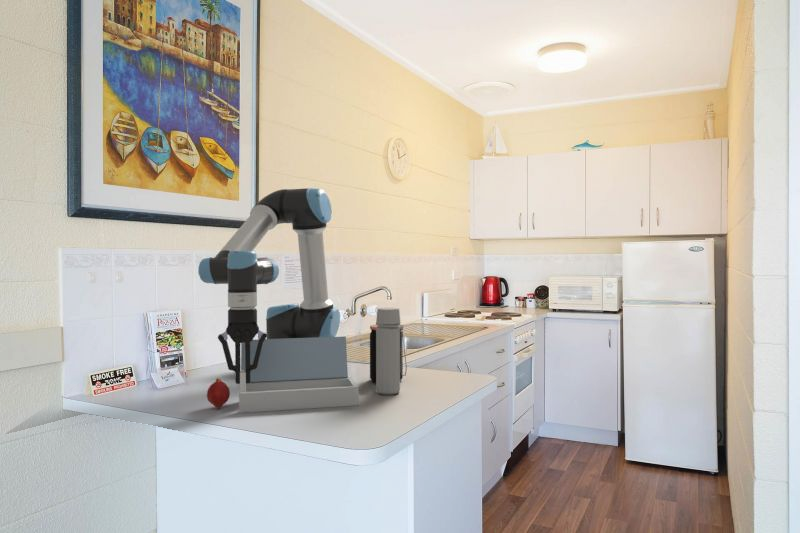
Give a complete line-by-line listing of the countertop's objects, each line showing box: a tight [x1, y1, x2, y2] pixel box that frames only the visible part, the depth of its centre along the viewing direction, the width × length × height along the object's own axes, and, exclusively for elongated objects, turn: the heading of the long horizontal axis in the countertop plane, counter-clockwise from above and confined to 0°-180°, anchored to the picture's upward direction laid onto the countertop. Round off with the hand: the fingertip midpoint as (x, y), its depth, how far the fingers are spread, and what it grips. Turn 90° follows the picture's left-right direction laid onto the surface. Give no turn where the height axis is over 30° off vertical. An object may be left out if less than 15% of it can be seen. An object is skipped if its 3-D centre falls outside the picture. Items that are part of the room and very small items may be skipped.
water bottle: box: [375, 307, 408, 396], centre depth 165 cm, size 9×8×25 cm
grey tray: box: [238, 377, 360, 414], centre depth 153 cm, size 12×31×5 cm, turn 104°
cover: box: [240, 336, 349, 383], centre depth 161 cm, size 1×30×13 cm, turn 104°
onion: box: [206, 377, 231, 409], centre depth 148 cm, size 6×6×8 cm
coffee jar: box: [369, 324, 404, 384], centre depth 181 cm, size 11×11×18 cm
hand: (243, 395), depth 150 cm, fingers closed
